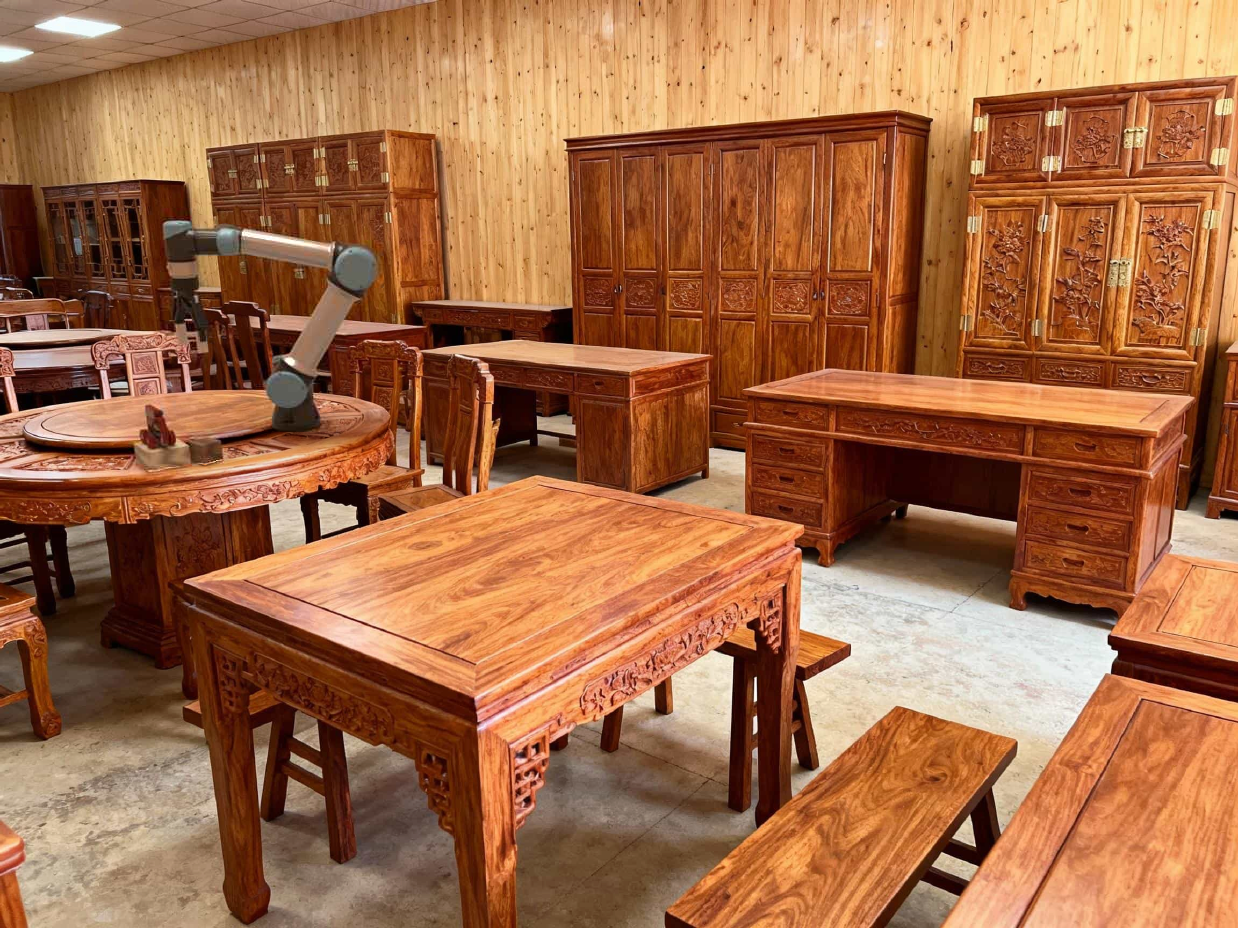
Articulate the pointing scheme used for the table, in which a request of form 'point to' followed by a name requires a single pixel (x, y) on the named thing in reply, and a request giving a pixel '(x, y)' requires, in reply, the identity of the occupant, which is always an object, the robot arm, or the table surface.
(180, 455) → the birch block
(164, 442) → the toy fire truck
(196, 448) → the walnut cube
